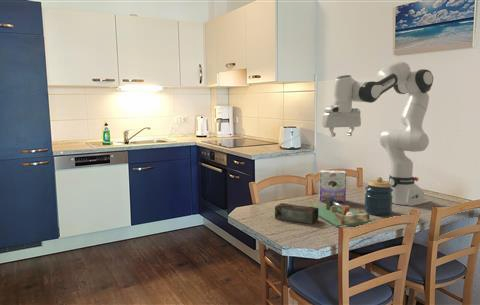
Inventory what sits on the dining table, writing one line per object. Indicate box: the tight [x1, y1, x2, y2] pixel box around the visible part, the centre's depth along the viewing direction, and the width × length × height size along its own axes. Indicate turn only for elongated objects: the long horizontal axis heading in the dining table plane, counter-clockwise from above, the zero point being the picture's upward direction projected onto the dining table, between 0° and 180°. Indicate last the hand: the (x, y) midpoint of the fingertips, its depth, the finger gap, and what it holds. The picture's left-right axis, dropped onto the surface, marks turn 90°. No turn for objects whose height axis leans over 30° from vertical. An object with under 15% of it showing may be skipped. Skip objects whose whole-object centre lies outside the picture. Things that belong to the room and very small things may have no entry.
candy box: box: [319, 169, 347, 203], centre depth 218 cm, size 14×6×16 cm, turn 80°
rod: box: [324, 197, 351, 216], centre depth 192 cm, size 17×3×5 cm, turn 18°
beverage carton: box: [274, 202, 319, 225], centre depth 186 cm, size 8×19×7 cm, turn 61°
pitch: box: [309, 203, 376, 228], centre depth 191 cm, size 20×30×3 cm, turn 18°
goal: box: [335, 209, 370, 224], centre depth 181 cm, size 14×6×4 cm, turn 108°
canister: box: [363, 176, 393, 217], centre depth 196 cm, size 13×13×18 cm
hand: (341, 136), depth 200 cm, fingers open, 8 cm apart
